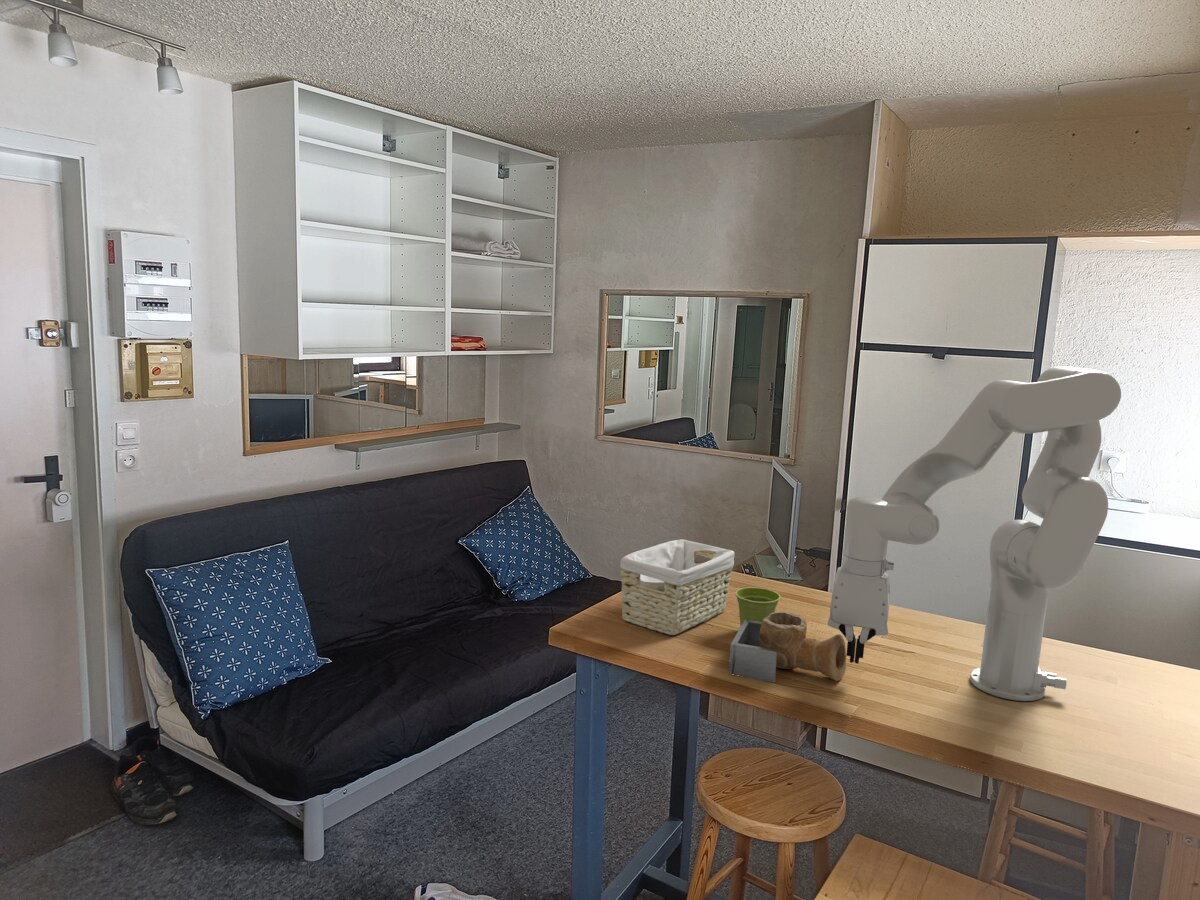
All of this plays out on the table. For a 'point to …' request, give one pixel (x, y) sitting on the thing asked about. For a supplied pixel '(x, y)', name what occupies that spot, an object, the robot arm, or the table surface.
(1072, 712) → the table surface
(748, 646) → the gray channel bracket
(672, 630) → the storage basket
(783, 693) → the table surface
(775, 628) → the pipe
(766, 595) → the plant pot
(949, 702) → the table surface
